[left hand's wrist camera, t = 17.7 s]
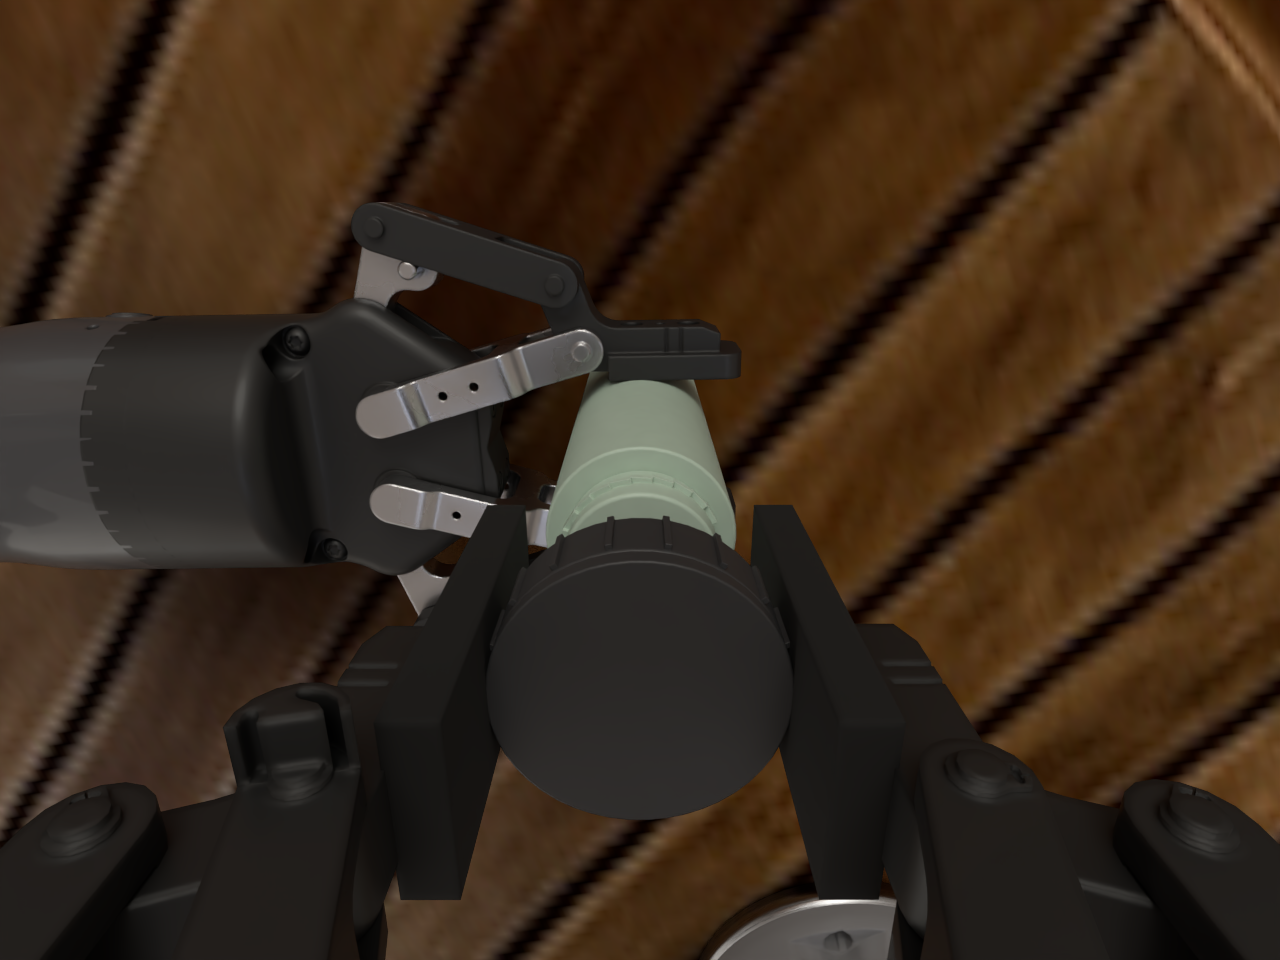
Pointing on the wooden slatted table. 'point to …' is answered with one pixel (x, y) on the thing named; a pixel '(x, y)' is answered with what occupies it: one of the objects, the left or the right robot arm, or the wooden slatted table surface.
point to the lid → (639, 670)
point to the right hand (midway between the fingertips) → (732, 435)
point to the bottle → (640, 460)
